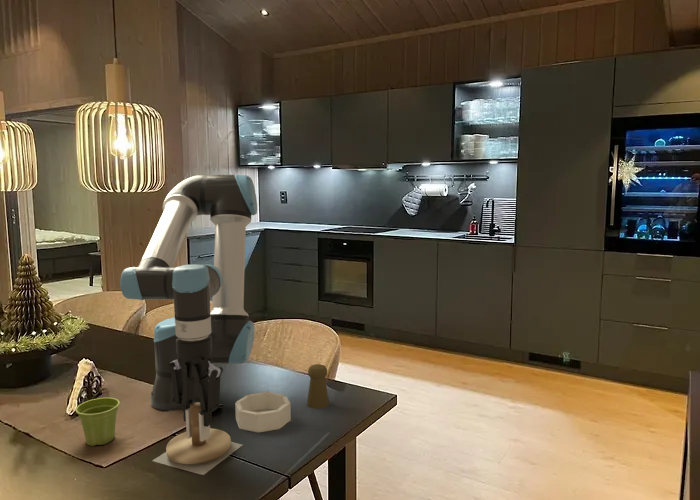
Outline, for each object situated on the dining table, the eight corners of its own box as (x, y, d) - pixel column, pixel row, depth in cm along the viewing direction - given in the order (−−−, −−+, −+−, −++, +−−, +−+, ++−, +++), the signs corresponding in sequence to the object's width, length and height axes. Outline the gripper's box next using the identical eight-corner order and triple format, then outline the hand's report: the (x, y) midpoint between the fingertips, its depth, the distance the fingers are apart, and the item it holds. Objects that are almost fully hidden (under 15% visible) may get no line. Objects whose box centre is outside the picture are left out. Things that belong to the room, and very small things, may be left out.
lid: (152, 455, 118) (149, 412, 117) (195, 427, 131) (193, 388, 129) (203, 469, 112) (201, 424, 111) (243, 439, 125) (241, 398, 124)
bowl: (226, 427, 135) (225, 408, 134) (256, 407, 146) (255, 389, 146) (271, 437, 129) (270, 417, 129) (298, 415, 141) (297, 397, 140)
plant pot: (93, 454, 122) (91, 417, 121) (69, 443, 127) (67, 408, 126) (130, 437, 130) (128, 402, 129) (106, 427, 135) (103, 394, 134)
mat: (152, 463, 118) (151, 460, 118) (194, 435, 131) (194, 433, 130) (203, 477, 112) (203, 474, 112) (243, 446, 125) (243, 444, 125)
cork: (326, 409, 145) (325, 370, 143) (304, 407, 146) (303, 368, 144) (331, 400, 150) (331, 362, 149) (310, 398, 152) (309, 361, 150)
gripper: (152, 336, 118) (159, 437, 121) (212, 345, 111) (217, 452, 115) (176, 327, 124) (182, 423, 128) (234, 335, 118) (238, 436, 121)
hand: (198, 436), depth 121 cm, fingers closed on lid, 3 cm apart
